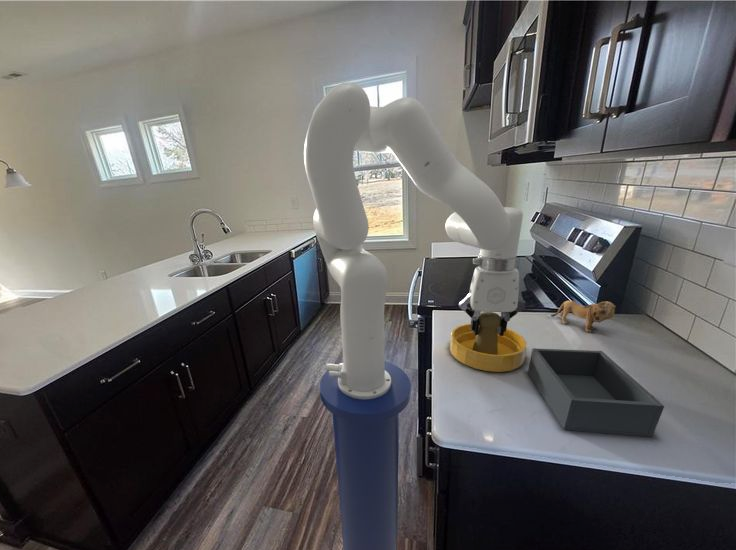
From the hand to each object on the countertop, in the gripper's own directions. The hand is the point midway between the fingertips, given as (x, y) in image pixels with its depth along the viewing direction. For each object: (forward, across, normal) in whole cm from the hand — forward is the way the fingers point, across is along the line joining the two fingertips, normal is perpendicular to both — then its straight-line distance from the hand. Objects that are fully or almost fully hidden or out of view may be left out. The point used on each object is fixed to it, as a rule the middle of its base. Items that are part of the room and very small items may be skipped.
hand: (487, 332), depth 79 cm
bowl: (+6, 0, 0) cm, 6 cm away
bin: (+6, +14, -17) cm, 23 cm away
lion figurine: (+6, +30, +18) cm, 36 cm away
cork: (+6, 0, 0) cm, 6 cm away
